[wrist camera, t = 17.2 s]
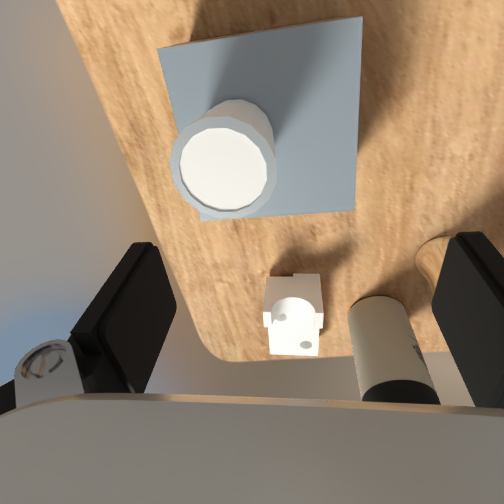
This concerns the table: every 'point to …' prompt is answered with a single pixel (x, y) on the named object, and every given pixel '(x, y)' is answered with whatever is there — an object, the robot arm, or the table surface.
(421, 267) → the silver metal tumbler
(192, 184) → the white cup
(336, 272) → the table surface
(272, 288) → the bracket
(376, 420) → the robot arm
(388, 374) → the travel mug
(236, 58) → the lid
